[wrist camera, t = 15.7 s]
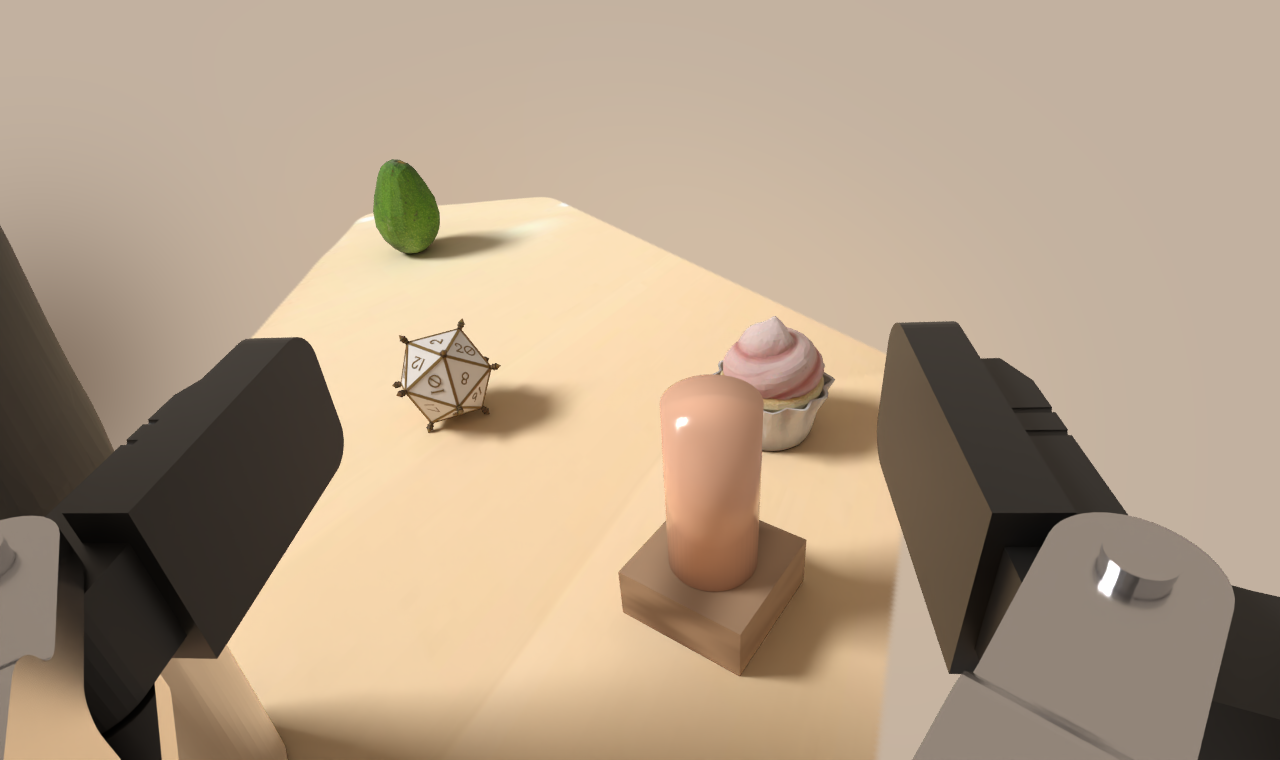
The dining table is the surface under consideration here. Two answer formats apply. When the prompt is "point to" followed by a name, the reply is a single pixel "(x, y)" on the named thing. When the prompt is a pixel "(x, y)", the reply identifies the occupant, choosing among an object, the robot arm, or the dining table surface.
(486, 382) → the game die
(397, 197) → the avocado
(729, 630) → the walnut base
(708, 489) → the peach cylinder
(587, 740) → the dining table surface
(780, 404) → the cupcake
